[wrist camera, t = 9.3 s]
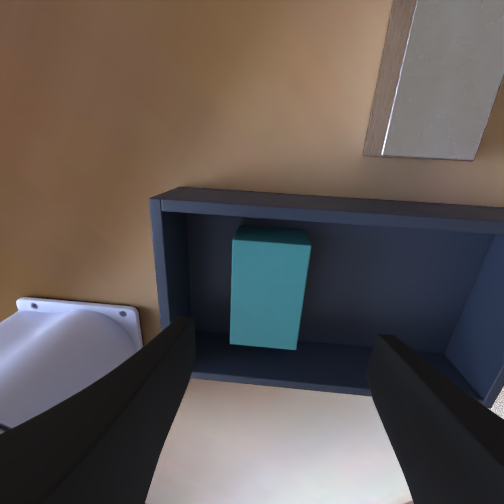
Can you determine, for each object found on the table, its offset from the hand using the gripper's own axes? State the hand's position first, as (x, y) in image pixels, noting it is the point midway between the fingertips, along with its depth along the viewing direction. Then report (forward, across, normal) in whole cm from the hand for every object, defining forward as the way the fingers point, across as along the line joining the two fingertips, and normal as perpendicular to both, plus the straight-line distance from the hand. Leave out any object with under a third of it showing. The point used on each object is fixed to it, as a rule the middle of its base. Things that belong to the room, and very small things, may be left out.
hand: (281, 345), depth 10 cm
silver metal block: (+8, -6, -11) cm, 15 cm away
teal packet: (+7, +1, +1) cm, 7 cm away
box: (+8, -3, +1) cm, 9 cm away
